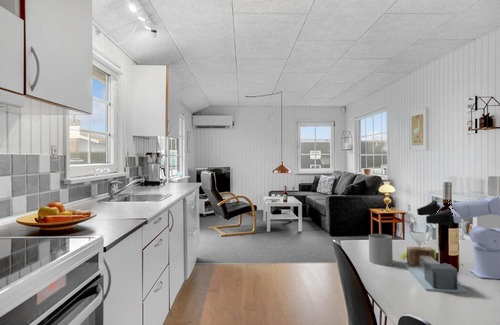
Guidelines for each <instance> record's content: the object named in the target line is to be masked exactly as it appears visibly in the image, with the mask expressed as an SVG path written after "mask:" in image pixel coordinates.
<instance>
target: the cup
mask: <svg viewBox="0 0 500 325" xmlns="http://www.w3.org/2000/svg"><path fill="white" fill-rule="evenodd" d="M393 254H394V253H393V236H392V235H389V234H385V233H371V234H368V260H369V263H371V264H373V265H378V266H390V265H392V264H393V263H394V262H393V261H394V260H393Z"/></svg>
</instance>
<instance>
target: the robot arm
mask: <svg viewBox="0 0 500 325" xmlns="http://www.w3.org/2000/svg"><path fill="white" fill-rule="evenodd" d="M451 203H452V206H451V205H450V206H449V207H450V209H451V210H449V209H446V210H444V211H439V213H437V211H438V210H439V209H440V208H441V207H442V206H443V203H442V202H438V201H437V200H432V201H430V203H428V204H426V205H424V206H422V207H418V208H417V209H416V211H417V215H418V216H425V221H426V223H427V224H434V225H435V224H436V225H437V224H438V225H444V226H448V227H453V223H455V224H458V223H462V219H463V220H464V219H471V218H478V217H483V216H488V215H489V216H490V215H494V216H499V217H500V195H499V196H498V197H495V196H483V197H481V198H480V199H472V200H471V199H470V200H464V201H457V202H451V201H450V204H451ZM448 204H449V203H448ZM452 207H453V208H454V209H455V210H456V211H455V210H454V209H452ZM451 211H452V212H451ZM436 213H437V214H436ZM452 213H453V215H452ZM469 237H470V240H471V241H472V242H473V266H474V268H469V272H471V273H473V275H475V276H477V277H478V278H479V279H498V280H499V279H500V228H499V227H498V228H497V227H496V228H495V227H485V226H481V225H477V226H474V227H473V228H471V229H470V231H469Z"/></svg>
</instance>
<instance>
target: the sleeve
mask: <svg viewBox="0 0 500 325" xmlns="http://www.w3.org/2000/svg"><path fill="white" fill-rule="evenodd" d="M424 276H425V280H426V281H427V282H428V283H429V284H430V285H431V286H432V287H433V288H434V289H452V290H458V284H459V283H458V269H457V268H456V267H455V266H453V265H452V264H450V263H449V264H448V263H446V262H443V263H440V264H433V263H428V262H424Z"/></svg>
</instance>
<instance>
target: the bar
mask: <svg viewBox="0 0 500 325" xmlns="http://www.w3.org/2000/svg"><path fill="white" fill-rule="evenodd" d="M424 262H428V263H433V264H441V263H440V262H438V261H437V260H436V258H435V259H433V258H432V257H431V256H425V255H419V269H421V270H422V271H423V272H424Z"/></svg>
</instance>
